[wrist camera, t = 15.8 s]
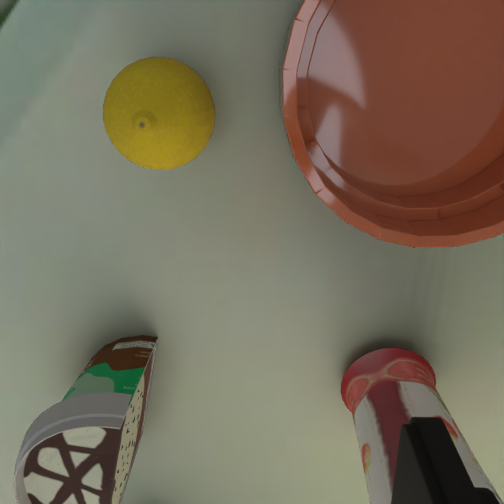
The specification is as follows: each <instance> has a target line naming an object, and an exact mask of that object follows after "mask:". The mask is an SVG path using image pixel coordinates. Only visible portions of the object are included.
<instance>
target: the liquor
mask: <svg viewBox="0 0 504 504" xmlns="http://www.w3.org/2000/svg"><path fill="white" fill-rule="evenodd" d="M435 385H436V379H435V374H434V371H433V368H432V367H431V366H430V364H429V363H428V361H426V360H425V359H424V358H423V357H422V356H420V355H418V354H417V353H415V352H412V351H409V350H406V349H400V348H385V349H379V350H376V351H373V352H370V353H367V354H366V355H364V356H362V357H360V358H359V359H358V360H356V361H355V362H354V363H353V364H352V365H351V366H350V367H349V368H348V369H347V371H346V373H345V375H344V377H343V380H342V383H341V395H342V399H343V401H344V403H345V405H346V407H347V408H348V409H349V410H350V411H351V412H352V415H353V420H354V424H355V429H356V434H357V438H358V443H359V448H360V453H361V458H362V463H363V468H364V473H365V478H366V484H367V489H368V494H369V500H370V504H391V499H392V492H393V484H394V477H395V469H396V462H397V454H398V446H399V439H400V431H401V426H402V424H409V423H410V419H411V418H412V417H440V418H441V419H442V420H443V421H444V423H445V425H446V427H447V430H448V432H449V434H450V436H451V438H452V440H453V442H454V444H455V447H456V449H457V451H458V453H459V455H460V457H461V459H462V462H463V464H464V466H465V468H466V470H467V472H468V474H469V476H470V479H471V481H472V483H473V485H474V487H484V488H489V489H490V490H491V491H492V492H493V493H494V495H495V496H496V498H497V500H498V501H499V503H500V504H504V503H503V502H502V500H501V499H500V497H499V495H498V494H497V492H496V490H495V489H494V487H493V486H492V484H491V482H490V481H489V479H488V478H487V476H486V474H485V473H484V471H483V470H482V468H481V466H480V465H479V463H478V461H477V459H476V458H475V456H474V454H473V453H472V451H471V449H470V447H469V446H468V444H467V442H466V441H465V439H464V437H463V436H462V434H461V432H460V430H459V429H458V427H457V425H456V424H455V422H454V420H453V418H452V417H451V415H450V413H449V411H448V409H447V408H446V406H445V404H444V402H443V401H442V399H441V397H440V395H439V393H438V392H437V390H436V388H435Z"/></svg>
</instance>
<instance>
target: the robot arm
mask: <svg viewBox="0 0 504 504" xmlns="http://www.w3.org/2000/svg"><path fill="white" fill-rule="evenodd" d="M391 504H500V503H499V501H498V500H497V498H496V496H495V495H494V493H493V492H492V491H491V490H490V489H489V488H484V487H474V485H473V483H472V481H471V479H470V476H469V474H468V472H467V470H466V468H465V466H464V464H463V462H462V459H461V457H460V455H459V453H458V451H457V449H456V447H455V444H454V442H453V440H452V438H451V436H450V434H449V432H448V430H447V427H446V425H445V423H444V421H443V420H442V419H441V418H440V417H412V418H411V419H410V423H409V424H402V426H401V431H400V439H399V446H398V454H397V462H396V469H395V477H394V484H393V492H392V499H391Z"/></svg>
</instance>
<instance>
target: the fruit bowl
mask: <svg viewBox="0 0 504 504" xmlns="http://www.w3.org/2000/svg"><path fill="white" fill-rule="evenodd" d="M279 66H280V67H279V105H280V110H281V114H282V117H283V121H284V125H285V129H286V132H287V136H288V140H289V143H290V146H291V150H292V153H293V156H294V158H295V161H296V163H297V164H298V166H299V168H300V169H301V171H302V173H303V174H304V176H305V178H306V180H307V181H308V183H309V185H310V186H311V188H312V190H313V191H314V193H315V194H316V195H317V196H318V197H319V198H320V199H321V200H322V201H323V202H324V203H325V204H326V205H327V206H328V207H329V208H330V209H331V210H332V211H333V212H334V213H335V214H336V215H338V216H339V217H340V218H341V219H342V220H344V222H346V223H348V224H350V225H352V226H354V227H355V228H357V229H359V230H361V231H363V232H365V233H367V234H369V235H371V236H372V237H374V238H377V239H379V240H383V241H387V242H392V243H396V244H401V245H405V246H409V247H414V248H415V247H416V248H423V247H455V246H461V245H465V244H469V243H473V242H477V241H480V240H484V239H488V238H492V237H496V236H498V235H500V234H502V233H504V0H301V2H300V4H299V6H298V8H297V10H296V12H295V14H294V16H293V18H292V20H291V22H290V26H289V27H288V31H287V35H286V40H285V44H284V48H283V52H282V57H281V61H280V65H279Z"/></svg>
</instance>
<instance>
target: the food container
mask: <svg viewBox="0 0 504 504" xmlns="http://www.w3.org/2000/svg"><path fill="white" fill-rule="evenodd" d="M157 340H158V337H150V336H135V337H127V338H121V339H119V340H117V341H114V342H112V343H110V344H107V345H105V346H104V347H103V348H102V349H101V350H100V351H99V352H98V353H97V354H96V355H95V356H94V357H93V358H92V359H91V361H90V362H89V364H88V365H87V366H86V368H85V369H84V370H83V372H82V373H81V375H80V376H79V377H78V379H77V380H76V382H75V383H74V384H73V386H72V387H71V388H70V390H69V391H68V393H67V394H66V395H65V397H64V398H63V400H62V401H61V402H59V403H57V404H55V405H53V406H51V407H50V408H49V409H47V410H46V411H44V412H43V413H41V414H40V415H39V416H38V417H37V418H36V419H35V420H34V421H33V423H32V424H31V426H30V427H29V429H28V430H27V432H26V435H25V437H24V440H23V443H22V446H21V449H20V452H19V455H18V458H17V461H16V465H15V473H14V475H15V479H14V492H15V497H16V500H17V504H121V501H122V498H123V495H124V492H125V488H126V485H127V482H128V479H129V475H130V472H131V469H132V466H133V462H134V459H135V456H136V453H137V449H138V446H139V443H140V440H141V437H142V433H143V429H144V422H145V416H146V410H147V404H148V397H149V391H150V385H151V378H152V372H153V366H154V359H155V353H156V347H157Z"/></svg>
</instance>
